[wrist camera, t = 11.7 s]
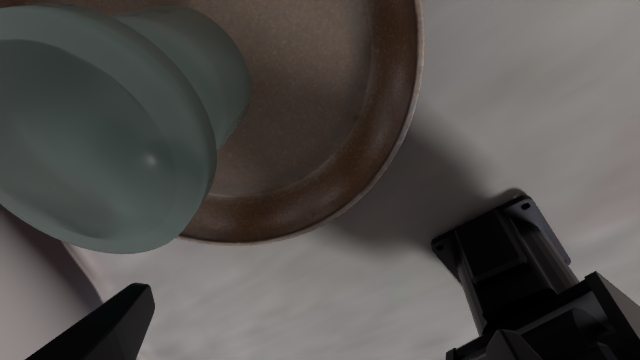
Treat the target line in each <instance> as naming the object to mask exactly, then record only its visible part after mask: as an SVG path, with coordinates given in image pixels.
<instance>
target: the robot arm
mask: <svg viewBox="0 0 640 360" xmlns="http://www.w3.org/2000/svg"><path fill="white" fill-rule="evenodd" d="M524 203H527V204H526V205H524V206H521V205H522V204H524ZM437 245H441V246H437ZM431 247H432V250H433V252H434V253H435V254H436V255H437V256H438V257H439V259H440V260H441V261H442V262H443V263H444V264H445V266H446V267H447V268H448V269H449V270H450V271H451V272H452V274H453V275H454V276H455V277H456V278H457V279H458V281H459V282H460V283H461V284H462V286H463V289H464V292H465V295H466V298H467V301H468V304H469V307H470V310H471V313H472V316H473V319H474V322H475V325H476V328H477V331H478V334H479V337H478V338H476V339H474V340H472V341H470V342H468V343H467V344H465V345H463V346H461V347H459V348H457V349H456V348H453V349H452V350H450V351H448V352H446V360H640V306H638V305H637V304H636V303H635V302H633V301H632V300H631V299H630V298H629V297H627V296H626V295H625V294H624V293H622V292H621V291H620V290H619V289H618V288H616V287H615V286H614V285H613V284H611V283H610V282H609V281H608V280H607V279H605V278H604V277H603V276H602V275H600V274H599V273H598V272H597V271H595V272H593V273H591V274H589V275H587V276H585V280H583V281H581V282H579V280H578V279H577V278H576V276H575V275H574V273H573V272H572V270H571V269H570V268H569V266H568V265H569V264H570V263H571V260H570V258H569V256H568V255H567V253H566V252H565V250H564V248H563V247H562V245H561V244H560V242H559V240H558V239H557V237H556V236H555V234H554V233H553V231H552V229H551V228H550V226H549V225H548V223H547V221H546V220H545V218H544V217H543V215H542V214H541V212H540V210H539V209H538V207H537V206H536V204H535V202H534V201H533V200H532V198H531V197H529V196H527V195H523V196H520V197H518V198H516V199H514V200H512V201H509V202H507V203H505V204H503V205H501V206H499V207H497V208H495V209H493V210H491V211H489V212H487V213H485V214H483V215H481V216H479V217H477V218H475V219H473V220H471V221H469V222H467V223H465V224H463V225H461V226H459V227H457V228H455V229H453V230H451V231H449V232H447V233H445V234H443V235H441V236H439V237H437V238H435V239H433V240H432V242H431ZM154 310H155V303H154V299H153V295H152V291H151V287H150V286H149V285H148V284H142V283H132V284H130V285H129V286H127V287H126V288H124V289H123V290H122V291H120V292H119V293H117V294H116V295H115V296H113V297H112V298H110V299H109V300H108V301H106V302H105V303H103V304H102V305H101V306H100V307H98V308H97V309H95V310H94V311H92V312H91V313H89V314H88V315H87V316H85V317H84V318H82V319H81V320H80V321H79V322H77V323H76V324H74V325H73V326H71V327H70V328H69V329H67V330H66V331H64V332H63V333H62V334H60V335H59V336H57V337H56V338H55V339H53V340H52V341H50V342H49V343H48V344H46V345H45V346H43V347H42V348H41V349H39V350H38V351H36V352H35V353H34V354H32V355H31V356H30V357H28V358H27V359H25V360H136V357H137V355H138V352H139V350H140V347H141V345H142V342H143V340H144V337H145V334H146V332H147V329H148V327H149V324H150V322H151V319H152V316H153V314H154Z"/></svg>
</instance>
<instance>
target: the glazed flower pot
mask: <svg viewBox="0 0 640 360" xmlns="http://www.w3.org/2000/svg"><path fill="white" fill-rule="evenodd" d="M250 97H251V83H250V76H249V72H248V68H247V65H246V63H245V60H244V58H243V56H242V54H241V52H240V50H239V48H238V47H237V45H236V44H235V42H234V41H233V39H232V38H231V37H230V36H229V35H228V34H227V32H226V31H225V30H224V29H223V28H221V27H220V26H219V25H218V24H217V23H216V22H214V21H213V20H212V19H210V18H209V17H207V16H206V15H204V14H202V13H200V12H198V11H196V10H193V9H191V8H188V7H184V6H181V5H173V4H160V5H155V6H150V7H146V8H141V9H136V10H132V11H127V12H123V13H118V14H114V15H109V16H108V15H106V14H104V13H101V12H99V11H96V10H94V9H90V8H86V7H82V6H79V5H75V4H67V3H59V2H50V3H35V4H28V5H20V6H13V7H6V8H0V204H1V205H3V206H4V207H5V208H6V209H7V210H9V211H10V212H12V213H13V214H14V215H16V216H17V217H19V218H20V219H22V220H23V221H25V222H26V223H28V224H30V225H31V226H33V227H35V228H36V229H38V230H40V231H42V232H44V233H46V234H48V235H50V236H52V237H55V238H57V239H59V240H61V241H64V242H66V243H69V244H72V245H75V246H78V247H81V248H85V249H89V250H93V251H98V252H104V253H114V254H134V253H140V252H146V251H150V250H153V249H156V248H159V247H161V246H163V245H165V244H167V243H169V242H170V241H172V240H173V239H174V238H176V237H177V236H178V235H179V234H180V233H181V232H182V231H183V230H184V229H185V227H186V226H187V224H188V223H189V221H190V220H191V218H192V217H193V216H194V214H195V213H196V211H197V210H198V208H199V207H200V205H201V204H202V202H203V201H204V199H205V198H206V196H207V195H208V193H209V192H210V189H211V187H212V185H213V182H214V178H215V174H216V168H217V153H218V151H219V150H220V149H221V148H222V146H223V145H224V144H225V143H226V141H227V140H228V139H229V137H230V136H231V135H232V134H233V132H234V131H235V130H236V128H237V127H238V126H239V125H240V123H241V122H242V120H243V119H244V117H245V115H246V113H247V110H248V107H249V103H250Z"/></svg>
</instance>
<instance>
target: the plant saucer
mask: <svg viewBox="0 0 640 360" xmlns="http://www.w3.org/2000/svg"><path fill="white" fill-rule="evenodd" d="M50 2H59V3H67V4H75V5H79V6H82V7H86V8H90V9H94V10H96V11H99V12H101V13H104V14H106V15H108V16H109V15H114V14H118V13H123V12H127V11H132V10H136V9H141V8H146V7H150V6H155V5H160V4H173V5H181V6H184V7H188V8H191V9H193V10H196V11H198V12H200V13H202V14H204V15H206V16H207V17H209V18H210V19H212V20H213V21H214V22H216V23H217V24H218V25H219V26H220V27H221V28H223V29H224V30H225V31H226V32H227V34H228V35H229V36H230V37H231V38H232V39H233V41H234V42H235V44H236V45H237V47H238V48H239V50H240V52H241V54H242V56H243V58H244V60H245V63H246V65H247V68H248V72H249V76H250V83H251V97H250V103H249V107H248V110H247V113H246V115H245V117H244V119H243V120H242V122H241V123H240V125H239V126H238V127H237V128H236V130H235V131H234V132H233V134H232V135H231V136H230V137H229V139H228V140H227V141H226V143H225V144H224V145H223V146H222V148H221V149H220V150H219V151H218V153H217V168H216V174H215V178H214V182H213V185H212V187H211V189H210V192H209V193H208V195H207V196H206V198H205V199H204V201H203V202H202V204H201V205H200V207H199V208H198V210H197V211H196V213H195V214H194V216H193V217H192V218H191V220H190V221H189V223H188V224H187V226H186V227H185V229H184V230H183V231H182V232H181V233H180V234H179V235H178V236H177V237H176V239H181V240H186V241H190V242H195V243H200V244H208V245H218V246H226V245H229V246H253V245H261V244H267V243H274V242H278V241H282V240H286V239H290V238H294V237H297V236H299V235H302V234H305V233H307V232H310V231H312V230H314V229H316V228H319V227H321V226H323V225H324V224H326V223H328V222H330V221H331V220H333V219H335V218H337V217H338V216H340V215H341V214H343V213H344V212H346V211H347V210H348V209H349V208H351V207H352V206H353V205H354V204H355V203H356V202H358V201H359V200H360V199H361V198H362V197H363V196H364V195H365V194H366V193H367V192H368V191H369V190H370V189H371V188H372V187H373V186H374V185H375V184H376V182H377V181H378V180H379V179H380V178H381V176H382V175H383V173H384V172H385V171H386V169H387V168H388V167H389V165H390V164H391V162H392V160H393V159H394V157H395V155H396V153H397V152H398V150H399V148H400V146H401V144H402V142H403V140H404V138H405V136H406V133H407V131H408V129H409V126H410V123H411V121H412V118H413V115H414V111H415V108H416V104H417V100H418V95H419V91H420V86H421V78H422V71H423V60H424V48H425V46H424V20H423V10H422V2H421V0H0V8H6V7H13V6H20V5H28V4H35V3H50Z"/></svg>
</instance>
